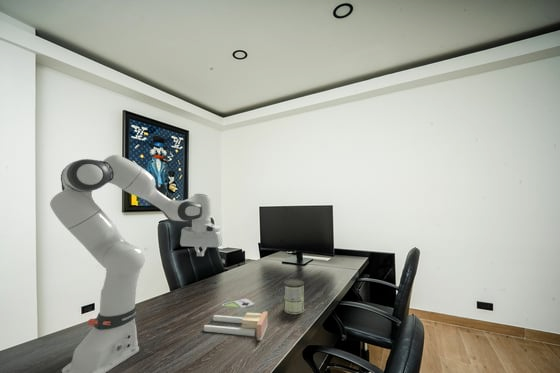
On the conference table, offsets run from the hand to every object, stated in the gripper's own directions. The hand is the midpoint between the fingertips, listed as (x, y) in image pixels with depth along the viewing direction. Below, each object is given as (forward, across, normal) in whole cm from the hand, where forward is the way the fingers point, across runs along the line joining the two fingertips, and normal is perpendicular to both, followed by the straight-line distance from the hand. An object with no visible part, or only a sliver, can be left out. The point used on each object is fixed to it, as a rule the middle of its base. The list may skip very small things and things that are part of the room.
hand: (200, 255), depth 115 cm
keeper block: (+28, +28, -7) cm, 41 cm away
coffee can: (+29, +44, +17) cm, 56 cm away
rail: (+29, +21, -7) cm, 37 cm away
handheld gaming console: (+30, +14, +17) cm, 37 cm away
